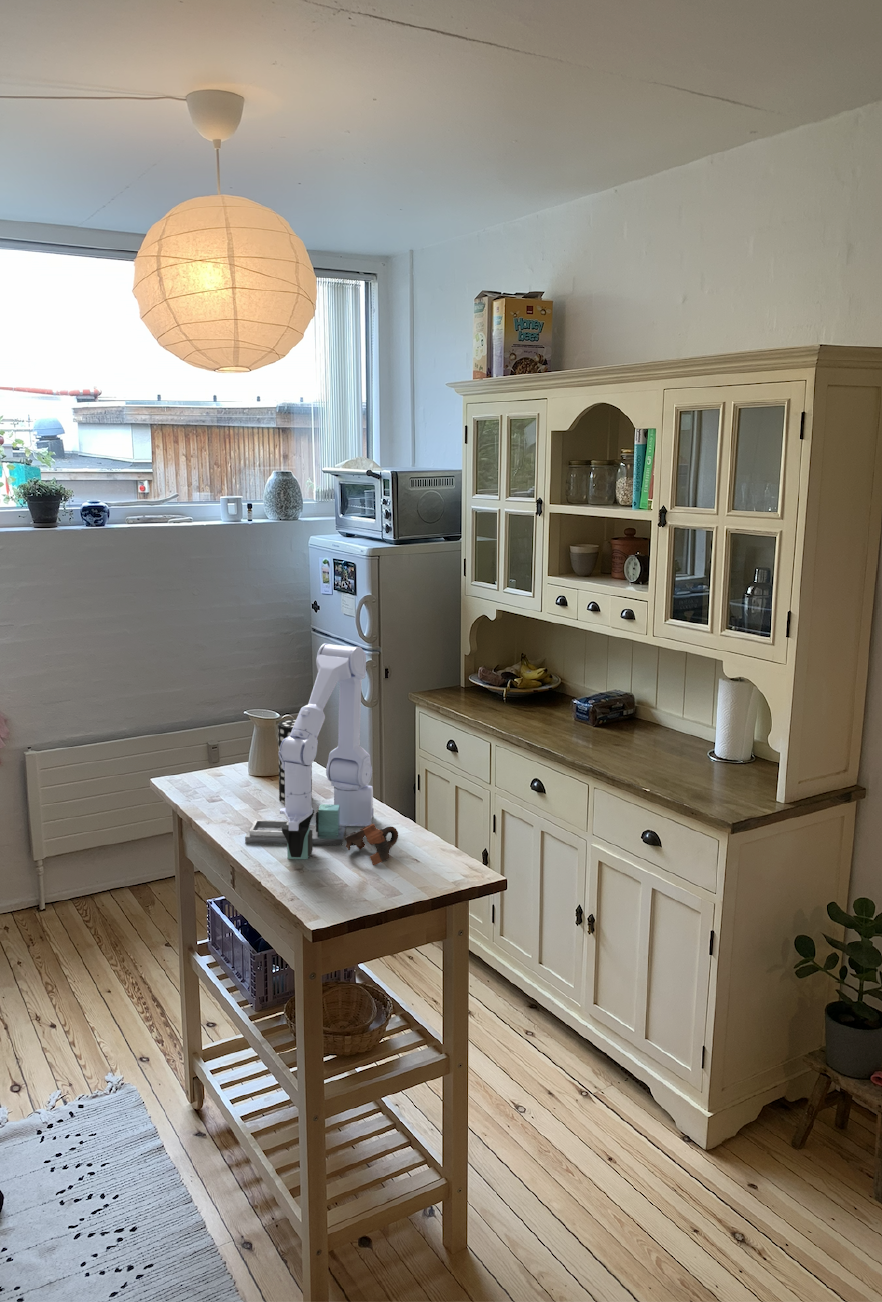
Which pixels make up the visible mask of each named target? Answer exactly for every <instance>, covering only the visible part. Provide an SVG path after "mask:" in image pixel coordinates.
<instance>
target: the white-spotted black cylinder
mask: <svg viewBox="0 0 882 1302" xmlns="http://www.w3.org/2000/svg"><path fill="white" fill-rule="evenodd" d="M296 719H297V718H290V719H284V720H281V721H279V722H278V723H277V731H278V733H277V734H278V736H277V737H278V739H277V740H278V752H279V751H280V745H281V743H282V741H283V740H284V739H285V738H287V737H288V736H290V733H291V731H292V729H293V726H294V724H295V721H296ZM311 793H312V795H311V799H312V800H313V763H312V764H311ZM278 800H279V802H281V804H285V770H283V768H282V762H281V760H280V758H279V757H278Z"/></svg>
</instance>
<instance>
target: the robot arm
mask: <svg viewBox="0 0 882 1302" xmlns="http://www.w3.org/2000/svg"><path fill="white" fill-rule="evenodd" d="M315 663H316V668H317V674H316V678H315V681H314V684H313V688H312V690H311V693H310V698H309V700H308V703H307V704H306V705H304V706H302V707H301V708H300V710H299V712H298V714H297V717H296V718H295V719H296V721H295V724H294V726H293V729H292V731H291V733H290V736H288V737H287V738H285V739H284V740H283V741H282V743H281V745H280V751H279V750H278V759H279V758H280V760H281V762H282V768H283V770H285V803H284V807H280V809H279V814H280V815H284V816H285V818H286V821H288V822H289V825H283V826H282V833H283V834H284V836H285V838H286V840H287V843H288V846H289V851H290V855H291V857H301V854H302V850H303V843H304V838H305V835H306V833H307V831H308V829H309V825H311V821H312V819H313V816H314V815H315V809H313V807H312V801H313V798H312V799H311V795H312V796H313V792H312V793H311V764H312V765H313V763H314V761H315V759H316V757H317V753H318V745H319V743H318V742H319V740H318V736H319V734H320V732H321V729H322V727H323V724H324V722H325V720H326V715H325V712H324V709H325V707H326V705H327V703H328V702H329V699H330V697H331V695H332V693H333V691H334V689H335V688H336V686H337V684H338V683H339V687H338V688H339V692H338V693H339V694H338V695H339V696H338V698H339V699H338V727H337V729H338V731H337V732H338V733H337V734H338V738H337V740H338V741H337V747H335V748H334V749H332V750H331V751H330V752H329V754H328V760H327V764H326V769H325V773H326V775H325V776H326V778H327V780H328V781H329V782H330V783H331V784H330V785H331V787H333V805H340V826H346V827H366V826H368V825H371V824H372V821H373V816H374V812H375V810H374V807H373V806H374V803H373V802H374V788H373V786H372V785H369V783H370V782H371V780H372V779H371V778H372V775H373V767H372V764H371V755H370V753H369V752H367V750H365V748H363V747H362V746H361V745H360V744H361V739H360V738H361V714H362V713H361V712H362V709H361V708H362V707H361V705H362V680H364V679H365V678H366V674H367V673H366V672H367V653H366V652H365V651H364V649H363V648H362V647H361V646H349V645H340V644H331V643H328V642H327V643H326V642H325V643H322V645H321V646H320V647H319V649H318V651H317V655H316V661H315Z"/></svg>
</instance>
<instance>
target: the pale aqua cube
mask: <svg viewBox="0 0 882 1302" xmlns="http://www.w3.org/2000/svg"><path fill="white" fill-rule="evenodd" d="M286 845H287V846H286V847H287V848H286V849H287V850H286V851H287V860H308V859H309V858H310V857H311V856H312V853H313V845H312V830H310V827H309V829H308V831H307V833H306V835H305V838H304V843H303V850H302V854H301V857H291V855H290V851H289V846H288V843H287V844H286Z"/></svg>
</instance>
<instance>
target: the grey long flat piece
mask: <svg viewBox="0 0 882 1302" xmlns="http://www.w3.org/2000/svg"><path fill="white" fill-rule="evenodd" d="M283 825H289V822H288V820H277V819H276V820H273V819H272V820H270V819H269V820H268V819H255V820H254V822H253V823H251V825H250V827H249V828H248V831H247V833H246V835H245V837H244V840H245V841H244V843H245V844H256V845H259V844H260V845H262V844H265V845H287V840H286V838H285V836H284V834H283V833H282V826H283ZM309 827H310V830H312V846H343V845H344V841H345V837H346V835H347V826H340V805H334V804H323V803H322V804H320V805H319V806H318V807H317V808H316V811H315V824H310V825H309Z"/></svg>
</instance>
